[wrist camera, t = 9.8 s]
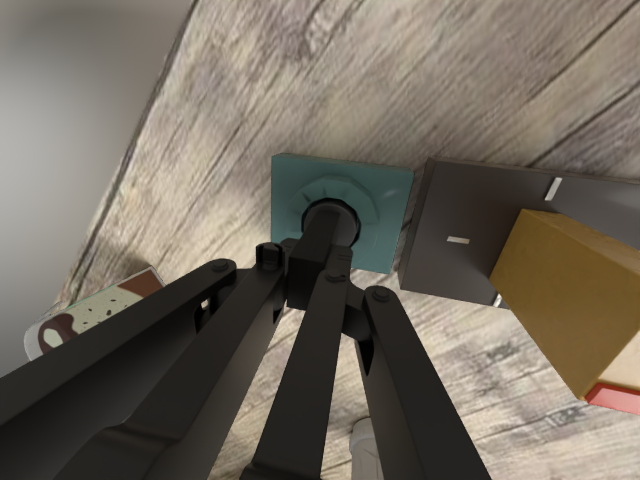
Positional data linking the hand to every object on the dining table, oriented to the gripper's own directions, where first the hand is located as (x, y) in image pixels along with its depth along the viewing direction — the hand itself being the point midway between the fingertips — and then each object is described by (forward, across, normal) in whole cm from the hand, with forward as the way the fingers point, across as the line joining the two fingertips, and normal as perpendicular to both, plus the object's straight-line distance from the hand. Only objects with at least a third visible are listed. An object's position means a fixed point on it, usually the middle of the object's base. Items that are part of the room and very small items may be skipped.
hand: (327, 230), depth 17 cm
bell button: (+2, 0, 0) cm, 2 cm away
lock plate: (+5, +13, 0) cm, 14 cm away
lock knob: (+2, +13, 0) cm, 13 cm away
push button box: (+5, 0, 0) cm, 5 cm away
